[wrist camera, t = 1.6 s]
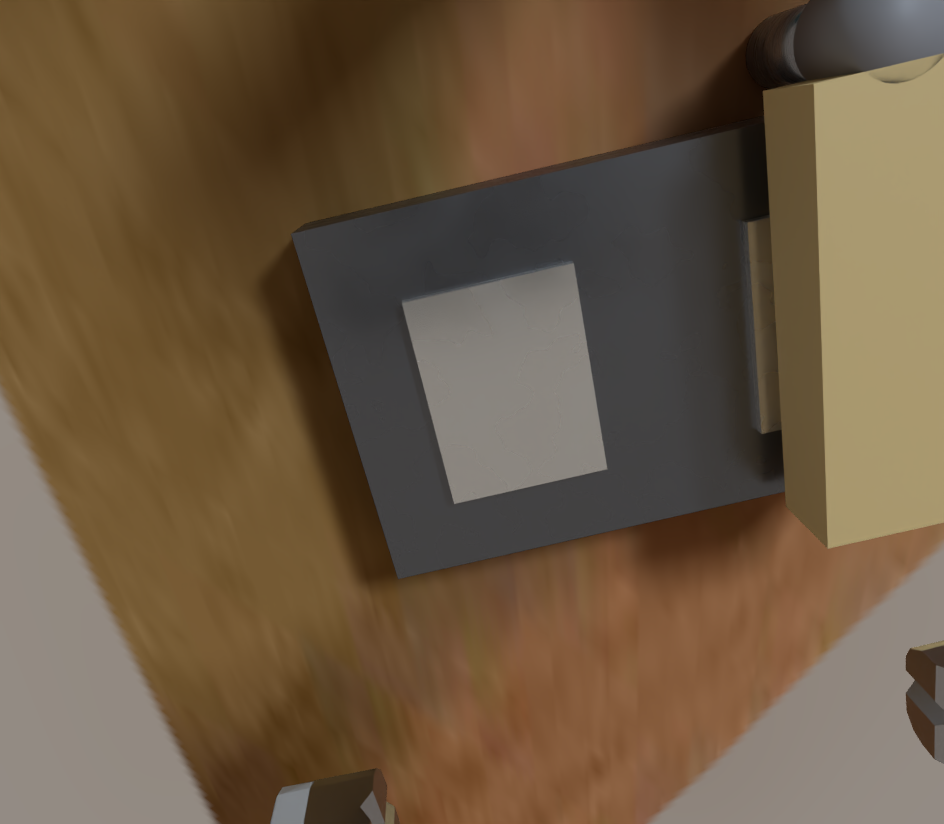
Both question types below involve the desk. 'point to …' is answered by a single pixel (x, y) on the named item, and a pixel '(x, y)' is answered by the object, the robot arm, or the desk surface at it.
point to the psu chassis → (562, 341)
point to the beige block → (860, 267)
